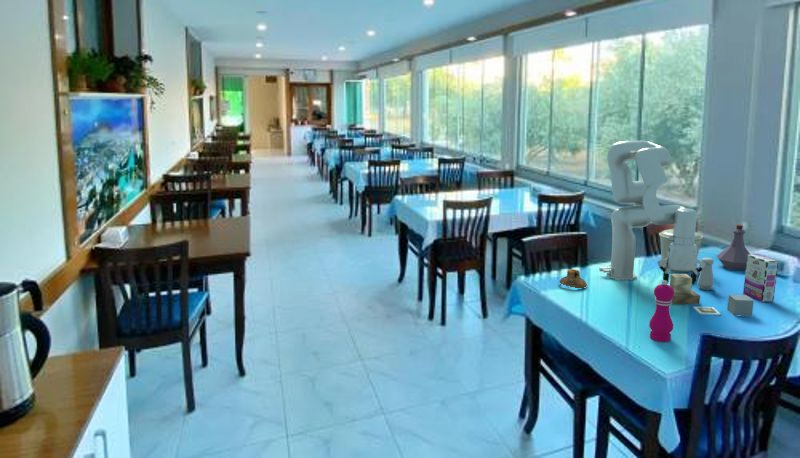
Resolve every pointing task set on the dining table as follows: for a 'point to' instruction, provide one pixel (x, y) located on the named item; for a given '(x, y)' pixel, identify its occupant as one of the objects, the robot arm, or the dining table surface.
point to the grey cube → (740, 305)
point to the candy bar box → (760, 278)
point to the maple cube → (681, 283)
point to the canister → (666, 243)
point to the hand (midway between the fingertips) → (679, 283)
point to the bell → (573, 279)
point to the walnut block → (685, 298)
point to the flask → (735, 252)
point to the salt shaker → (706, 275)
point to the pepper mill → (662, 313)
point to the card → (707, 310)
